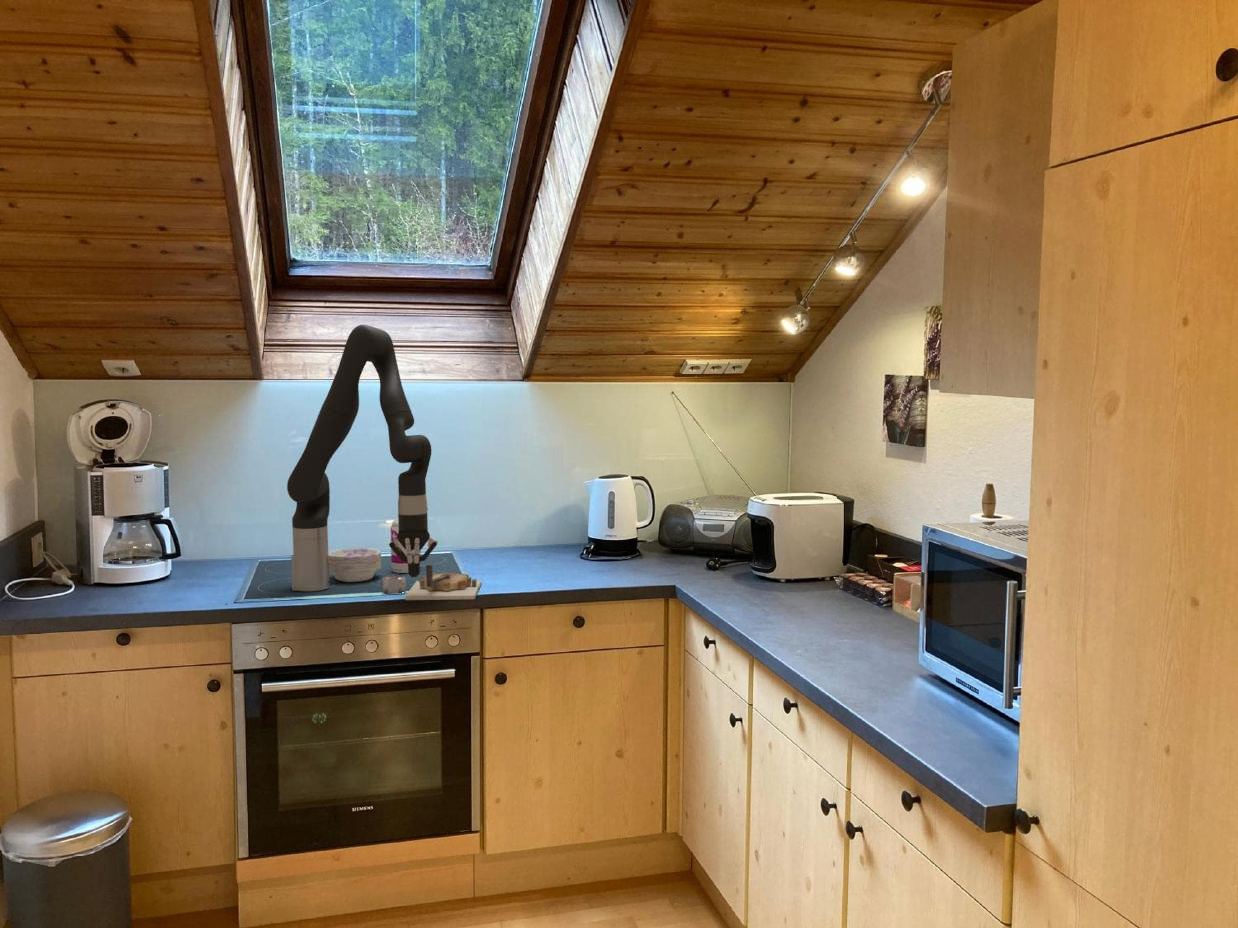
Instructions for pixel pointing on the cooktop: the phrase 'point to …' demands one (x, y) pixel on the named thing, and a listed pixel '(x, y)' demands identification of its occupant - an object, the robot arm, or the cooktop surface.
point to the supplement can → (395, 560)
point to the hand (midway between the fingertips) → (414, 576)
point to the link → (394, 585)
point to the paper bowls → (354, 564)
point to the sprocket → (444, 580)
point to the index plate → (443, 592)
